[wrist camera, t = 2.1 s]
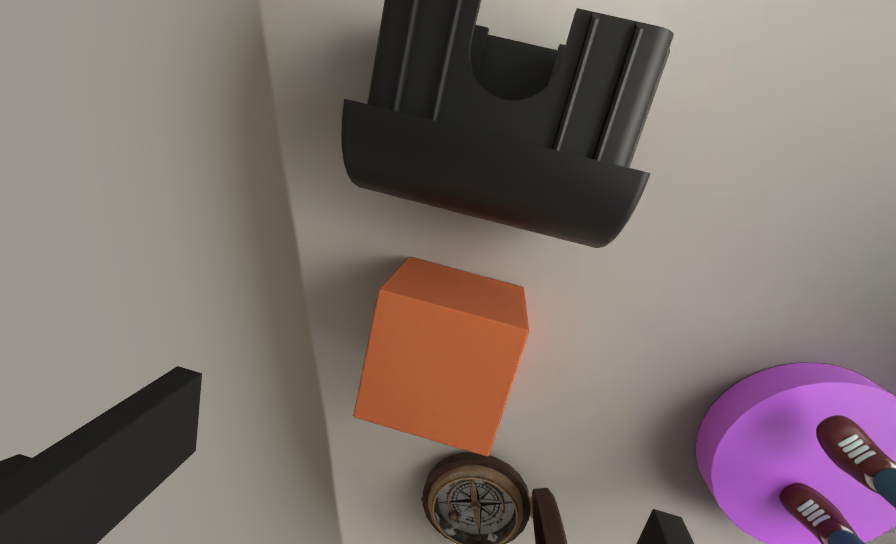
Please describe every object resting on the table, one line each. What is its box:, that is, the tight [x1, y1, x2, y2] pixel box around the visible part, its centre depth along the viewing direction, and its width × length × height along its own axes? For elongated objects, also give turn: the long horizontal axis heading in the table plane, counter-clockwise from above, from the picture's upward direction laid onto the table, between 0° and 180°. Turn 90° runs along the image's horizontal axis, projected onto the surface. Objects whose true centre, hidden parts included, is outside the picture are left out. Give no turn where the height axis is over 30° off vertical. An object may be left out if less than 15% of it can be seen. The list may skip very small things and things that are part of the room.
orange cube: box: [353, 257, 529, 457], centre depth 20 cm, size 6×6×6 cm
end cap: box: [341, 0, 674, 248], centre depth 16 cm, size 10×7×7 cm
